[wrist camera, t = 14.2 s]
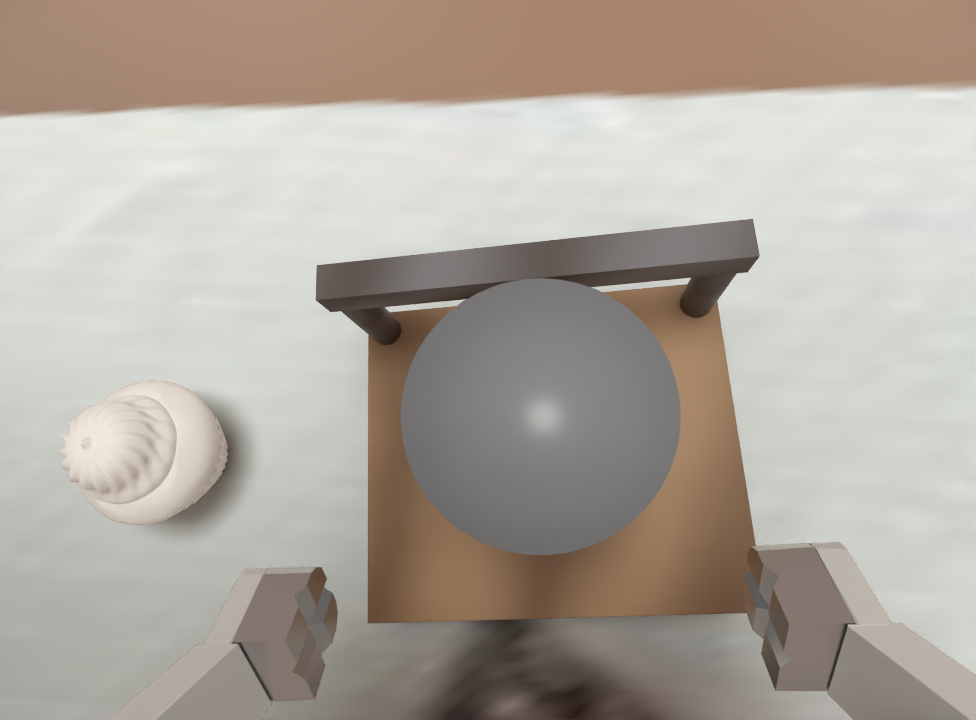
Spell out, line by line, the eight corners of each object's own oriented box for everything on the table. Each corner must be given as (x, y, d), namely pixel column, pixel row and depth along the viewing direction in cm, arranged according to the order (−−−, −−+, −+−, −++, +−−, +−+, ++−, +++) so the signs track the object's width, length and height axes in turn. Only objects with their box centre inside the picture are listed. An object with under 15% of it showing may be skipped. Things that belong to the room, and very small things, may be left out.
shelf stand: (398, 605, 25) (299, 663, 16) (396, 340, 28) (311, 260, 19) (733, 594, 23) (840, 652, 14) (693, 314, 26) (758, 212, 17)
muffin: (270, 495, 27) (172, 492, 20) (152, 542, 27) (16, 554, 21) (240, 376, 29) (140, 337, 22) (129, 421, 29) (-3, 395, 22)
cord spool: (469, 542, 21) (403, 562, 13) (462, 374, 23) (398, 292, 14) (646, 533, 21) (701, 547, 12) (625, 360, 22) (660, 265, 14)
